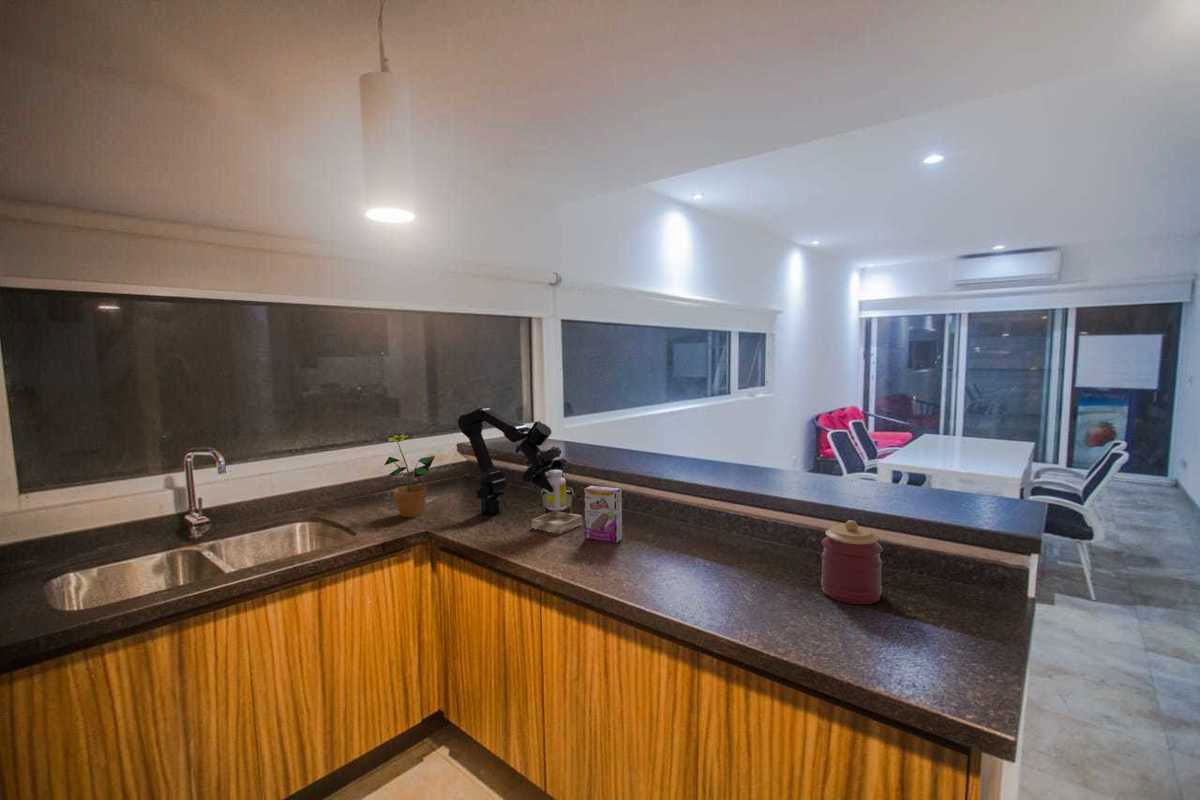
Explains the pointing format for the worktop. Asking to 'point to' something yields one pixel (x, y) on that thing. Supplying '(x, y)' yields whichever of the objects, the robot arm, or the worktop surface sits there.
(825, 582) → the canister
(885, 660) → the worktop surface
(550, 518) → the box
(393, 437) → the potted plant
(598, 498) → the candy bar box
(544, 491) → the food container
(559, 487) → the supplement bottle
